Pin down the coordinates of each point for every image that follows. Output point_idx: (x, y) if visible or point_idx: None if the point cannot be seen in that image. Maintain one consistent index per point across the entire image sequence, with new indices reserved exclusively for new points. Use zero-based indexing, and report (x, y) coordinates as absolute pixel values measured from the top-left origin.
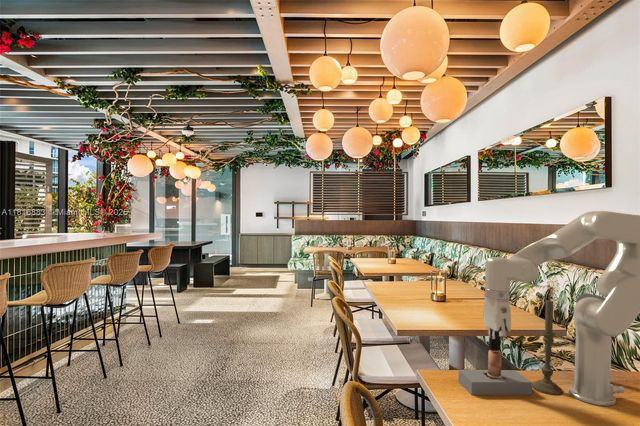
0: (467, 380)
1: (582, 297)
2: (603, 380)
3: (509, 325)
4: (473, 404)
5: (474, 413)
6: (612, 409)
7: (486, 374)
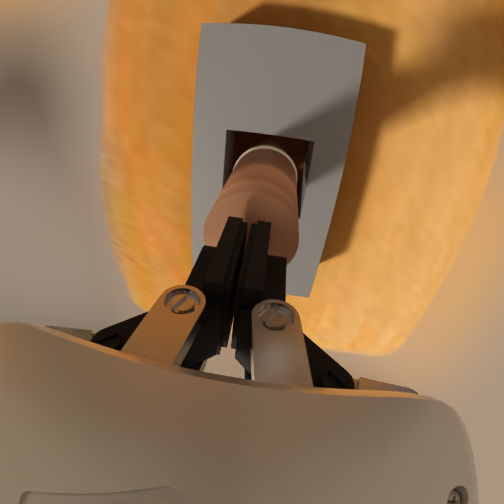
0: None
1: None
2: None
3: (465, 496)
4: (360, 294)
5: (395, 313)
6: None
7: (223, 183)
